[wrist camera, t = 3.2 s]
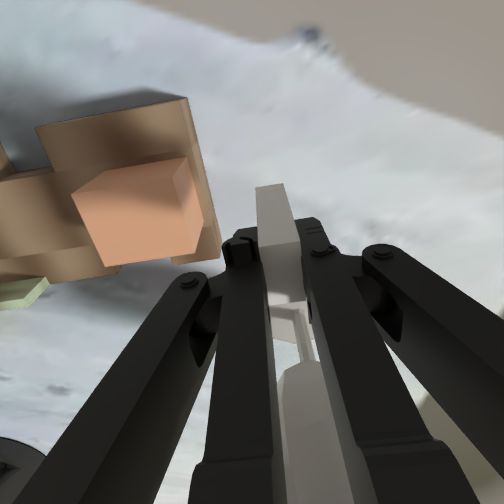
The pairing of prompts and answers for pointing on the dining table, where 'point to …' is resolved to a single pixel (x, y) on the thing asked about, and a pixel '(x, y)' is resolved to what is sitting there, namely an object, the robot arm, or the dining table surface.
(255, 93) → the dining table surface
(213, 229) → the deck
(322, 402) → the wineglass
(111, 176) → the block
